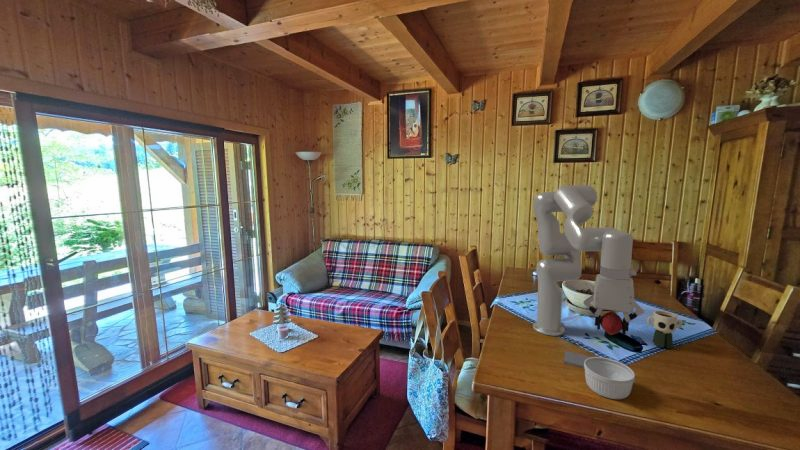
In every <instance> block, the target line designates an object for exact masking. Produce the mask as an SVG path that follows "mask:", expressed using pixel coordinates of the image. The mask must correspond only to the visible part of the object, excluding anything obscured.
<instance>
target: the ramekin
mask: <svg viewBox="0 0 800 450" xmlns="http://www.w3.org/2000/svg"><path fill="white" fill-rule="evenodd" d="M583 369H584V377H585V381H586V382H585V383H586V384H587V387H589V389H591V391H593V392H594V393H595V394H597V395H599V396H601V397H604V398H606V399H612V400H624V399H626V398H628V397H629V396H630V394H631V392H632V389H633V384H634V382H635V379H636V374H635V372H634V370H633V369H632V368H630V367H629V366H628V365H626V364H625V363H622V362H620V361H618V360H616V359H612V358H608V357H600V356H592V357H591V356H590V358H588V359H586V360H585V362H584V368H583Z"/></svg>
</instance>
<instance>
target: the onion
mask: <svg viewBox="0 0 800 450" xmlns="http://www.w3.org/2000/svg"><path fill="white" fill-rule="evenodd" d="M600 328H602V330H603V331H604V332H605V333H607V334H608V335H610V336H612V335H616V334H619V333H620V332H622V328H623V318H621V317H620V315H619V314H617V313H616V311H611V310H609V311H608V312H606V313H604V314H603V315H601V322H600Z"/></svg>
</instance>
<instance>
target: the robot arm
mask: <svg viewBox="0 0 800 450" xmlns="http://www.w3.org/2000/svg"><path fill="white" fill-rule="evenodd" d="M533 199H534V200H533V203H532V205H533V206H532V207H533V213H534V216H535V219H536V222H537V233H538V234H537V235H538V236H537V238H538V247H539V251H540V253H541V254H542V255H545V256H564V258H561V257H560V258H543V259H540V260H539V261H538V262H537V264H536V277H537V312H536V321H535V322H533V324H532V327H533V330H535V332H537V333H540V334H541V335H545V336H553V337H557V336H561V335H564V334H565V330H566V329H565V327H564V326H562V307H563V305H562V304H563V290H562V288H561V287H560V285H559V284H558V282H569V281H570V282H571V281H577V280H579V279H580V278H581V276H582V256H581V255H582V254H581V252H600V265H599V267H600V268H599V274H596V277H595V282H594V287H593V294H591V295H590V296H589V297H588V298H586V299H585V300H583V305H584V306H585V307H587V309H588V310H589V311H590V312H591V313H592V314H593V315H594V317H595V318H594V326H596V327H597V329H596V330H597V331H599V330H601V324H600V322H601V317H602V315H601V313H602V312H603V310H606V311H610V310H611V311H614V312H618V313H622V315H623V316H624V317H623V318H622V322H623V328H622V330H621V333H622V334H623V335H624V336H625V335H626V332H629V328H630V322H631V321H633V320H634V319H636V318H637V317H640V316H641V315H643V314H645V311H644V309H643V308H642V306H640V304H638V303H637V302H636V301H635V289H634V286H635V285H634V280H633V276H634V277H637V271H636V270H632V269H631V267H632V259H633V258H632V257H633V256H632V255H633V244H634V242H633V241H634V237H633V235H632V234H631V233H629V232H626V231H621V230H618V229H616V228H615V227H614V228H613V227H581V226H580V225H583V224H584V223H587V221H589V220H590V219H591V217H592V216H593V213H594V207H593V206H595V204H596V203H597V200H598V192H597V190H596V189H595V187H593V186H591V185H588V184H574V185H573V184H572V185H571V184H569V185H562V186H560V187H558V188H557V189H556V190H555V191H545V192H540V193H538V194H537V195H535V197H534V198H533ZM554 213H563V214H564V215H565V217H566V218H565V220H564V224H563V231H564V232H561V231H560V226H561V225H560V221H559V219H558V218H557V217H556V215H555V214H554ZM591 303H593V304H591ZM634 309H635V311H634Z"/></svg>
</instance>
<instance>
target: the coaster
mask: <svg viewBox="0 0 800 450" xmlns="http://www.w3.org/2000/svg"><path fill="white" fill-rule="evenodd" d="M588 358H591V356H589V355H585V354H582V353H581V354H580V353H575V352H572V351H567V350H566V351H565V352H564V358H563V364H566V365H569V366H573V367H578V368H582V369H585V368H584V362H585V360H586V359H588Z"/></svg>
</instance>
